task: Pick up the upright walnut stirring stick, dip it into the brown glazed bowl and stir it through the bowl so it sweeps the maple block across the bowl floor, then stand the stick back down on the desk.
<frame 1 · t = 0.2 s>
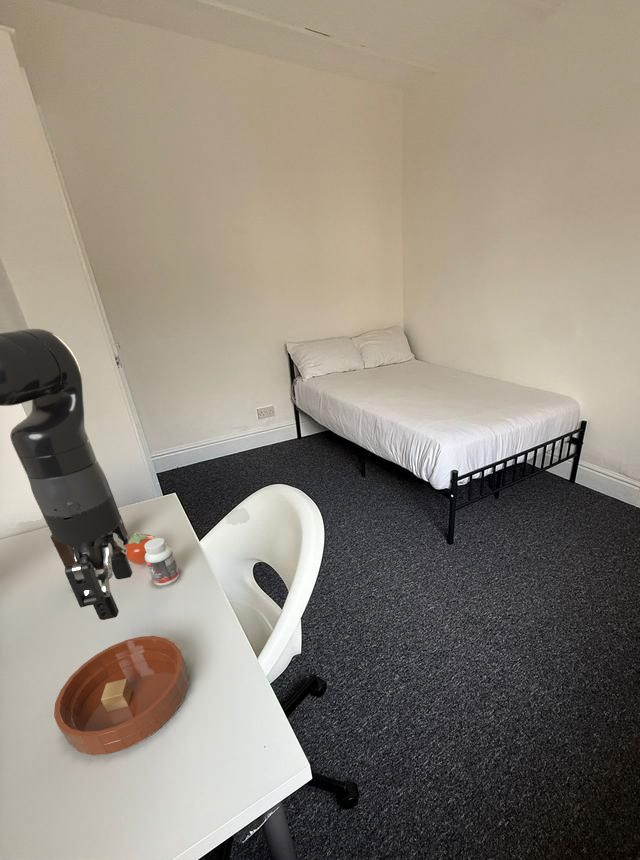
hand: (118, 595, 60), 20 cm above the table, tool pointing down, fingers open, 8 cm apart
stick: (82, 585, 93), on the table
tomato: (145, 560, 100), on the table
pill bottle: (167, 579, 94), on the table
bowl: (131, 700, 67), on the table
block: (120, 701, 66), point 1 cm above the table, touching bowl
supplement bottle: (118, 546, 106), on the table
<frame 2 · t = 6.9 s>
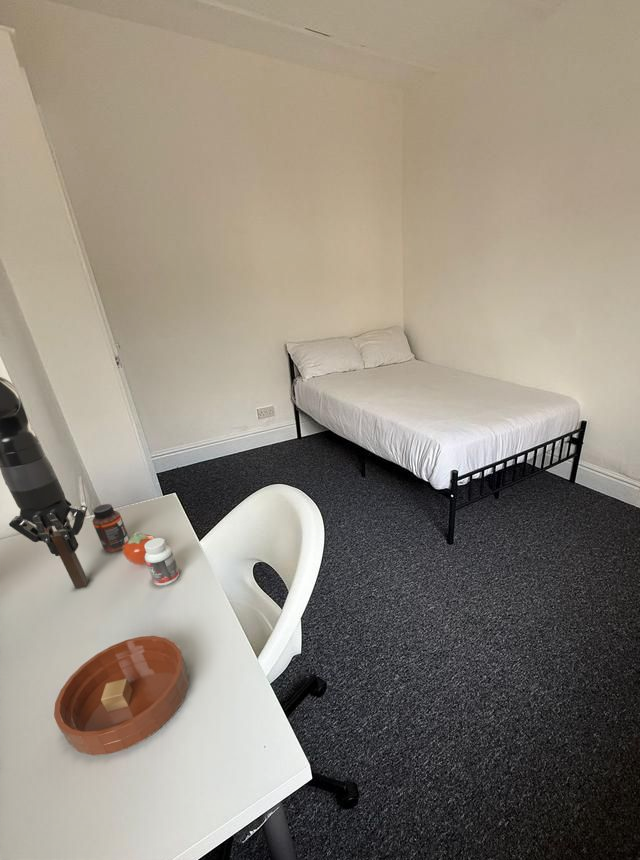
hand: (66, 552, 88), 9 cm above the table, tool pointing down, fingers closed on stick, 2 cm apart
stick: (82, 585, 93), on the table, touching gripper
everything else where it was.
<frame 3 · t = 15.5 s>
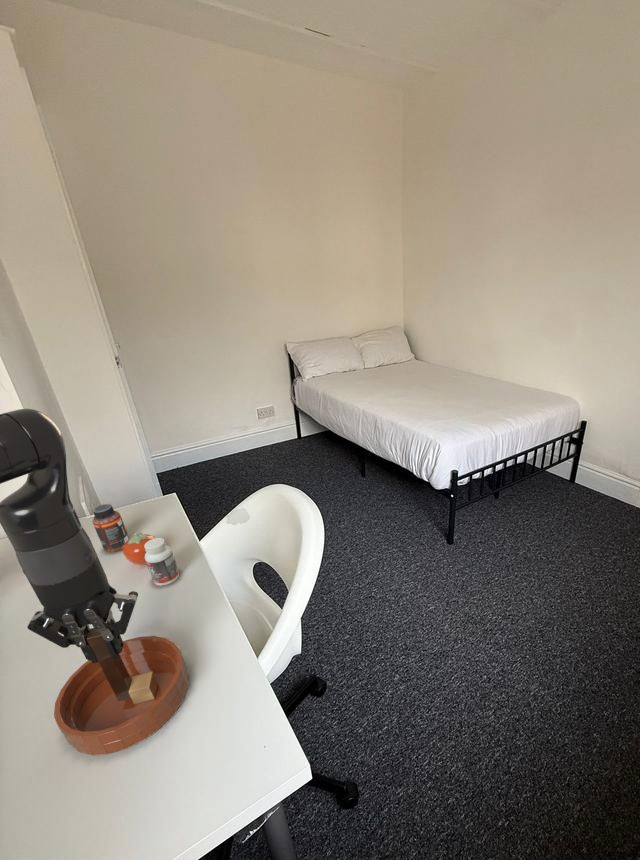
hand: (107, 655, 62), 11 cm above the table, tool pointing down, fingers closed on stick, 2 cm apart
stick: (127, 694, 66), point 2 cm above the table, touching gripper
block: (146, 693, 67), point 1 cm above the table, touching bowl
everything else where it was.
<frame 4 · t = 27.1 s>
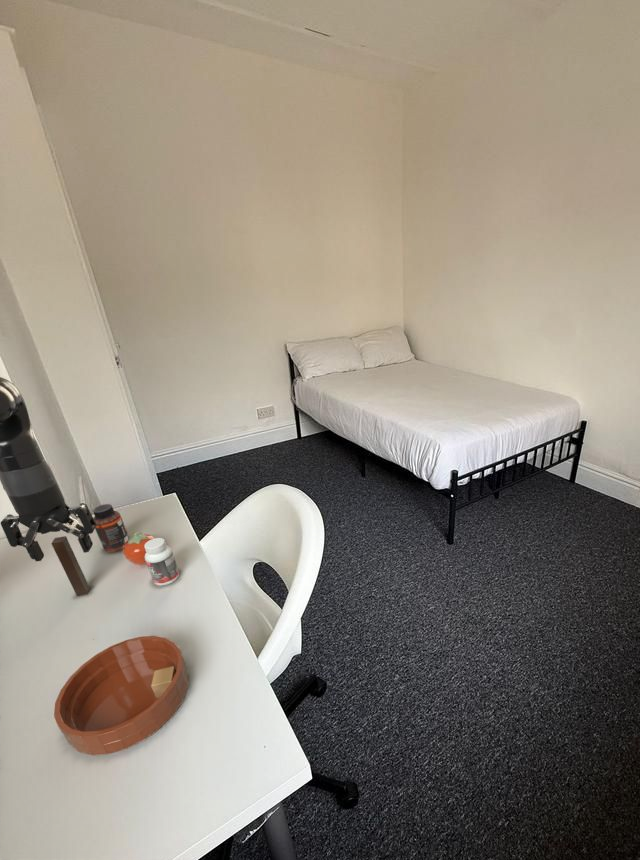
hand: (64, 554, 85), 10 cm above the table, tool pointing down, fingers open, 8 cm apart
stick: (83, 592, 90), on the table
block: (167, 687, 68), point 1 cm above the table, touching bowl
everything else where it was.
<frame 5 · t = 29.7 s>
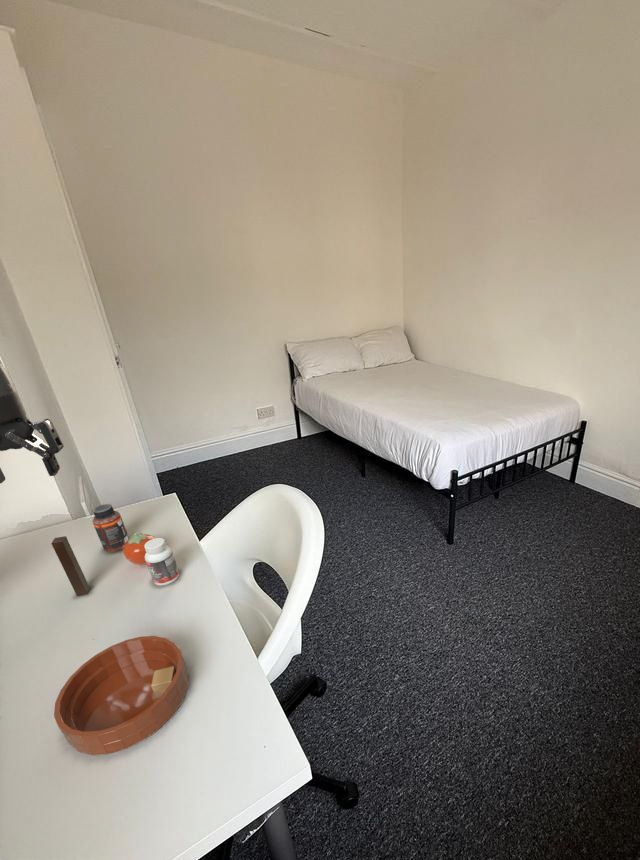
hand: (27, 478, 77), 28 cm above the table, tool pointing down, fingers open, 8 cm apart
nothing on the table moved.
at the end: block moved 7.0 cm from its start; block inside the target area in the bowl (5.5 cm from its centre), point 0.6 cm above the bowl's base; the gripper is holding nothing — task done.
